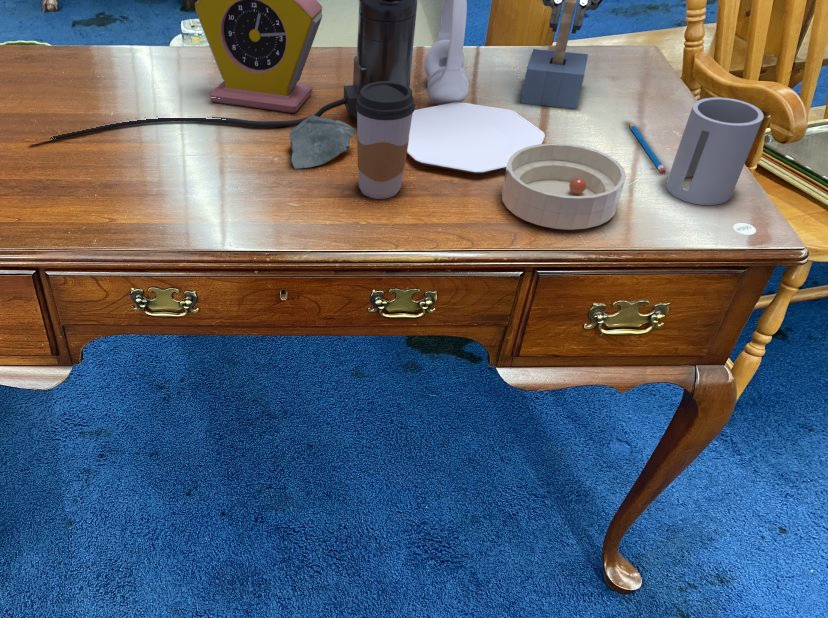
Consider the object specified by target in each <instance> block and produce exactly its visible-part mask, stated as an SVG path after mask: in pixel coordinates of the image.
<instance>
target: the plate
mask: <svg viewBox="0 0 828 618" xmlns="http://www.w3.org/2000/svg"><path fill="white" fill-rule="evenodd" d="M545 138H546V134H545V132H544V131H543V130H541V129H540V128H538V127H536V126H535V125H534V124H533V123H531V122H530V121H528V120H527V119H526V118H524V117H523V116H521V115H520V114H518V113H517V112H516V111H514V110H512V109H507V108H500V107H493V106H487V105H482V104H476V103H475V104H474V103H469V102H463V101H461V102H454V103H448V104H443V105H438V104H437V105H434V106H429V107H424V108H419V109H415V110H414V112H413V114H412V120H411V127H410V133H409V143H408V149H407V155H408V156H409V157H410V158H411V159H412V160H414V162H415V163H418V164H420V165H424V166H429V167H436V168H441V169H447V170H450V171H451V170H452V171H457V172H463V173H468V174H473V175H482V174H483V175H484V174H486V173H492V172H496V171H500V170H501V171H502V170H506V168H507V163H508V161H509V159H510V157H511V156H512V155H513V154H514V153H516V152H517V151H519V150H521V149H523V148H526V147H529V146H533V145H538V144H544V143H543V142H544V141H545Z"/></svg>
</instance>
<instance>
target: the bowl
mask: <svg viewBox="0 0 828 618" xmlns="http://www.w3.org/2000/svg"><path fill="white" fill-rule="evenodd" d="M625 171H626V170H625V168H624V167H623V166H622V165H621V163H619V162H618V160H616V159H614V158H613V157H611V156H610V155H608V154H606V153H604V152H602V151H599V150H597V149H595V148H590V147H587V146H584V145H583V146H582V145H579V144H572V143H560V142H559V143H558V142H551V143H542V144H538V145H533V146H529V147H526V148H523V149H521V150H519V151H517V152H516V153H514V154H513V155H512V156H511V157H510V159H509V161H508V163H507V168H506V169H505V174H504V178H503V184H502V190H501V201H502V203H503V204H504V206H505V208H506V209H508V211H510V212H511V213H512V214H513V215H514V216H516V217H517V218H520V219H521V220H523V221H525V222H528V223H530V224H534V225H537V226H540V227H544V228H549V229H555V230H566V231H567V230H568V231H570V230H571V231H572V230H585V229H590V228H593V227H598V226H601V225H603V224H605V223H607V222H608V221H610V220H611V219H612V218H613V217H614V216H615V215H616V211H617V208H618V205H619V201H620V198H621V195H622V192H623V188H624V186H625V185H624V184H625V182H626V178H627V175H626V172H625ZM575 178H582V179H584V180H585V182H586V189H585V191H584V192H583V193H581V194H578V195H576V194H573V193H571V191H570V190H569V184H570V182H571V181H572V180H573V179H575Z"/></svg>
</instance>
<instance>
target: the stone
mask: <svg viewBox="0 0 828 618" xmlns="http://www.w3.org/2000/svg"><path fill="white" fill-rule="evenodd" d="M309 116H310V117H309ZM309 116H307V117H308V118H307V119H305V120H304V121H302V122H301V123H300V124H299V125H296V126H294V127H293V128H292V129H291V131H290V132H289V134H288V136H289V141H290V149H291V163H292V164H291V165H292V167H293V169H295V170H299V169H308V168H312V167H313V168H314V167H316V166H321V165H324V164H327V163H328V162H330V161H333V159H335V158H336V157H338V156H339V155H341V154H343V153H346V152H348V151H349V150H350V147H352V146H351V139H352V138H353V137H354V136H355V134H356V128H354V127H352V126H351V125H349V124H348V123H345V122H343V121H341V120H339V119H335V120H334V119H332V118H328V117H323V116H320V117H317V116H315V115H314V114H312V115H309Z"/></svg>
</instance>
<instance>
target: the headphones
mask: <svg viewBox="0 0 828 618" xmlns="http://www.w3.org/2000/svg"><path fill="white" fill-rule="evenodd" d="M467 2H468V0H442V4H441V11H440V12H441V14H440V22H439V23H440V24H439V33H438V34H437V36H436V39H435V41H434V43H432V45H431V46H430V48H429V49H428V51H427V52H426V55H425V57H424V66H423V67H424V73H425V75H426V77H427V82H426V83H427V84H426V86H427V96H428V98H429V99H428V100H429V101H431V102H432V103H433V104H435V105H437V106H438V105H443V104H448V103H454V102H463V100H465V99H466V98H467V96H468V94H469V86H470V85H469V84H470V77H469V76H470V75H469V74H468V72H467V71H466V70H465V69H464V67H465V55H464V44H465V38H466V37H465V36H466V25H467V15H468V14H467V13H468V11H467V10H468V3H467Z"/></svg>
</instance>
